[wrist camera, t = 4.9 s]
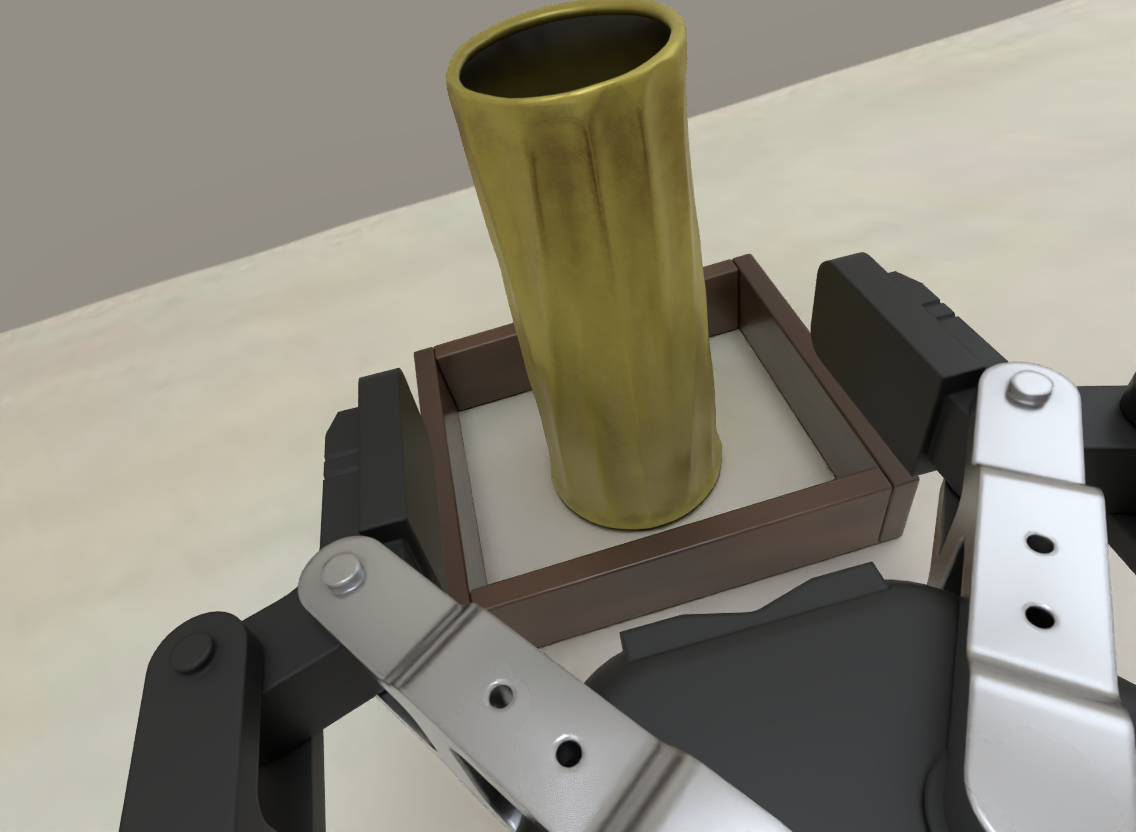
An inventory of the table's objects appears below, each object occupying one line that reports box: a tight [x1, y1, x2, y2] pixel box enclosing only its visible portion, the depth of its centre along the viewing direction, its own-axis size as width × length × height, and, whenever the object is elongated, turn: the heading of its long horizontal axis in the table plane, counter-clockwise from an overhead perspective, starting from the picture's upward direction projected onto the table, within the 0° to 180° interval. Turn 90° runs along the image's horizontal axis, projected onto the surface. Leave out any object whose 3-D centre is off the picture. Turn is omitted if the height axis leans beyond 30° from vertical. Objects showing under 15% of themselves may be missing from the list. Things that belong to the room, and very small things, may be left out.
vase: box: [446, 0, 722, 529], centre depth 20 cm, size 6×6×14 cm
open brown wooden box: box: [414, 254, 920, 648], centre depth 24 cm, size 14×12×3 cm
